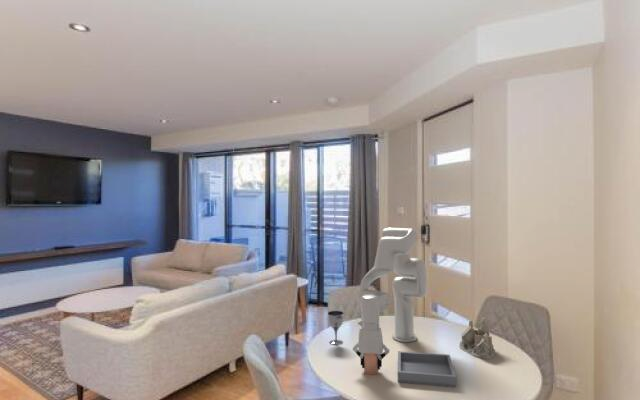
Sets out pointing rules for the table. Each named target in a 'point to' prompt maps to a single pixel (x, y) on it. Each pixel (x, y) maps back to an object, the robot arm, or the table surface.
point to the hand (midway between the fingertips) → (371, 367)
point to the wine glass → (335, 324)
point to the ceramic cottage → (478, 341)
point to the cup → (371, 364)
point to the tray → (426, 369)
